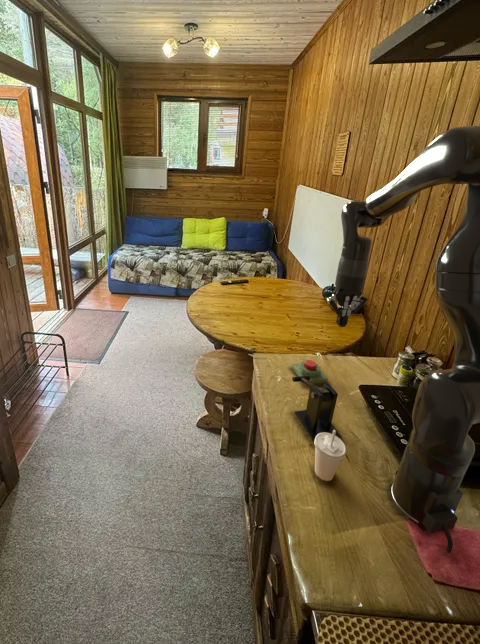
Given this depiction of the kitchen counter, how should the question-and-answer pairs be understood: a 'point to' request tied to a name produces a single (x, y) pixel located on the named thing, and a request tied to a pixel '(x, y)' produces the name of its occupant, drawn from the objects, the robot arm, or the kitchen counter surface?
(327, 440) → the smoothie
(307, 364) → the button
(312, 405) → the bracket
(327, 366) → the kitchen counter surface
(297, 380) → the lever
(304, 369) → the control block
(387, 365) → the kitchen counter surface
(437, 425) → the robot arm
